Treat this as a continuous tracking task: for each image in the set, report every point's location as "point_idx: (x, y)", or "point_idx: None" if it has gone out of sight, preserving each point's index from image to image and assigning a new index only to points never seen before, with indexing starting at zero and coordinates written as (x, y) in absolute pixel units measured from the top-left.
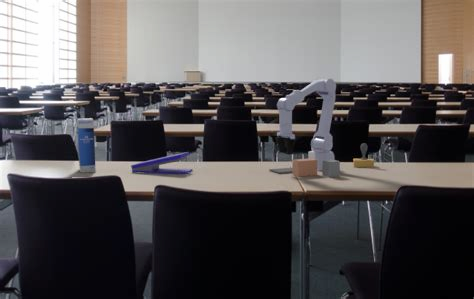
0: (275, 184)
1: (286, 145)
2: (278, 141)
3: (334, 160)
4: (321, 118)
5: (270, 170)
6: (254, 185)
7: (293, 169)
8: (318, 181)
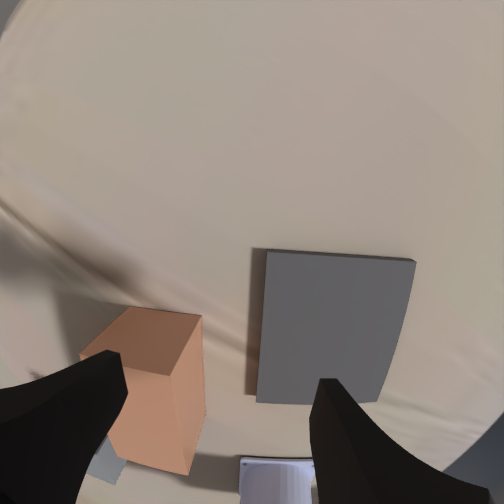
0: (25, 97)
1: (30, 395)
2: (367, 496)
3: (88, 471)
4: None
5: (399, 259)
6: (58, 16)
7: (175, 330)
8: (19, 300)
